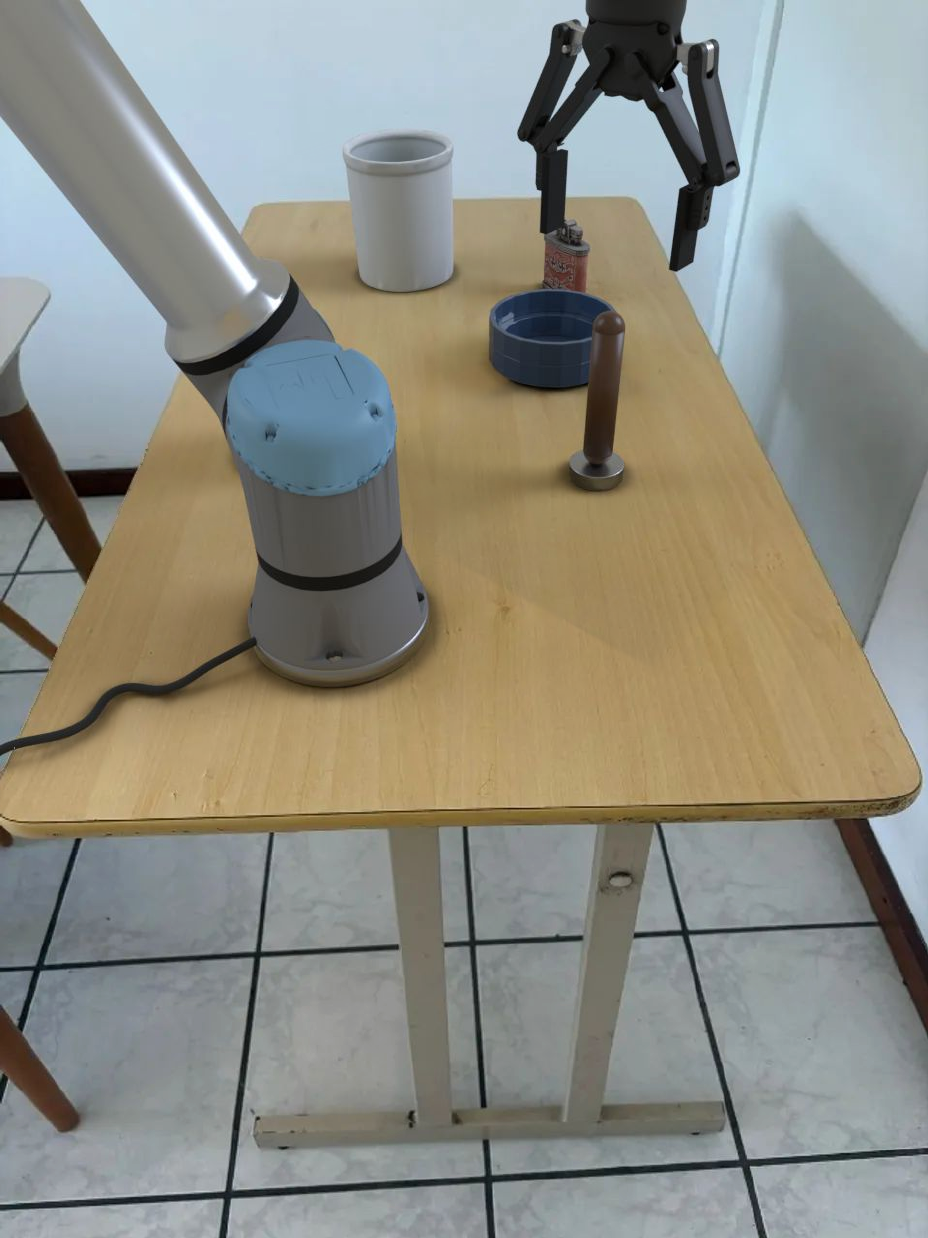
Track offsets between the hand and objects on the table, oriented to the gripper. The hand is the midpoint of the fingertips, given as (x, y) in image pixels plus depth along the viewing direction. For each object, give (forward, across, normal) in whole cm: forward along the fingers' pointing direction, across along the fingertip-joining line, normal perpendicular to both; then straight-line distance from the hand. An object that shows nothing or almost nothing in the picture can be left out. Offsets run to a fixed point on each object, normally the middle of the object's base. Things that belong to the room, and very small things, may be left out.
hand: (613, 247), depth 84 cm
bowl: (+23, +18, -17) cm, 34 cm away
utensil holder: (+23, +51, -25) cm, 62 cm away
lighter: (+23, +29, -34) cm, 50 cm away
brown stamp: (+23, -1, 0) cm, 23 cm away
